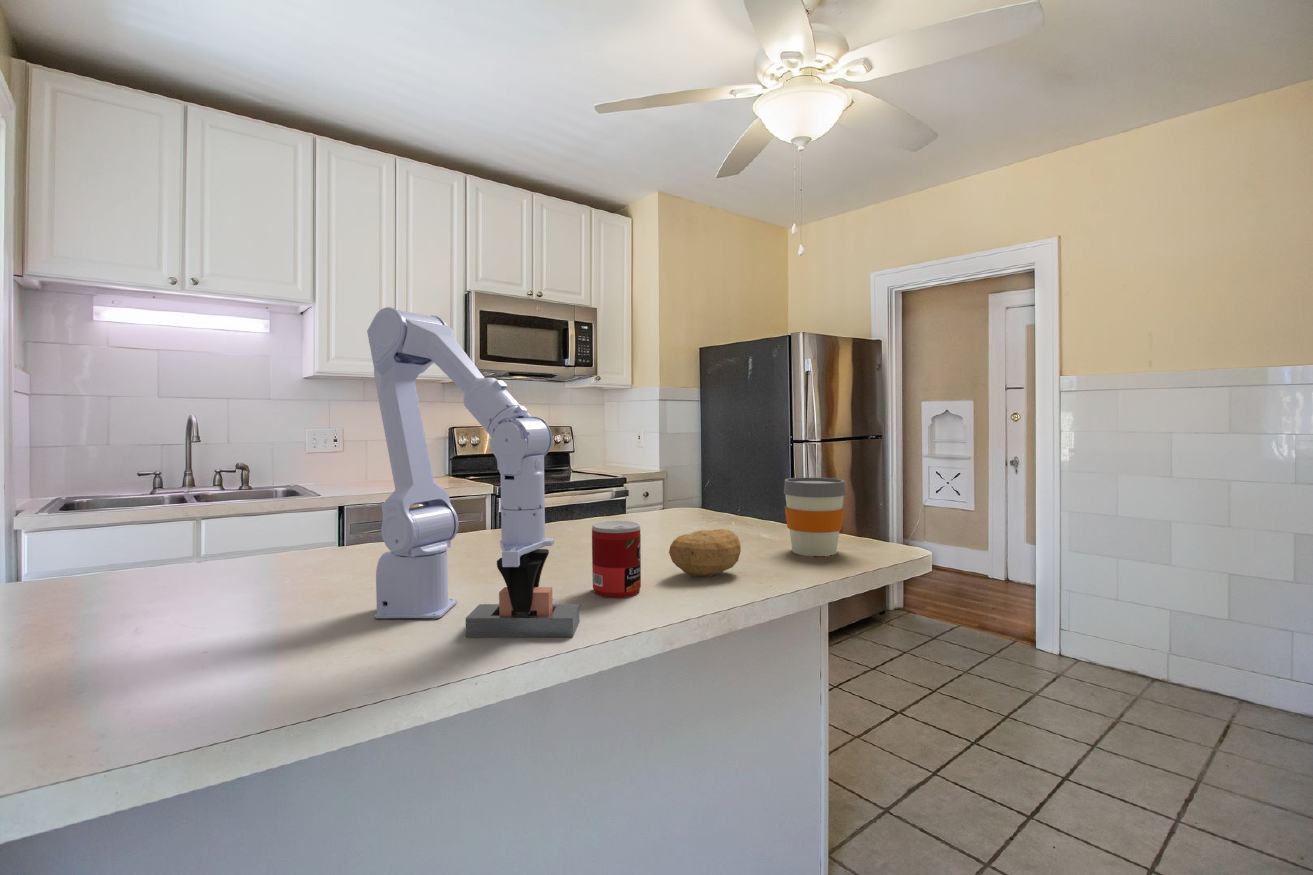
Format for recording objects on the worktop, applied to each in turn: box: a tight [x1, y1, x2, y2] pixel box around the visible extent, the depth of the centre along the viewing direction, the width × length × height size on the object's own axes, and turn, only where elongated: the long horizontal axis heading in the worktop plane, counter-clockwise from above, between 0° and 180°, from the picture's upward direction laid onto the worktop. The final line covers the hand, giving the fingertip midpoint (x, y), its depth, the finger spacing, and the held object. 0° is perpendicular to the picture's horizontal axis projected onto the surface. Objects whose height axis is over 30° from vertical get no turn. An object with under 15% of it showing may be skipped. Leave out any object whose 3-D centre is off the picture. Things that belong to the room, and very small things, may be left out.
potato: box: [668, 528, 742, 578], centre depth 111 cm, size 10×14×8 cm
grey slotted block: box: [465, 603, 581, 638], centre depth 84 cm, size 14×6×2 cm, turn 89°
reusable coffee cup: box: [783, 477, 846, 557], centre depth 130 cm, size 13×13×15 cm
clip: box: [498, 586, 554, 616], centre depth 84 cm, size 7×3×5 cm, turn 89°
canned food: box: [591, 520, 642, 599], centre depth 101 cm, size 8×8×11 cm
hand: (524, 607), depth 84 cm, fingers closed on clip, 3 cm apart
